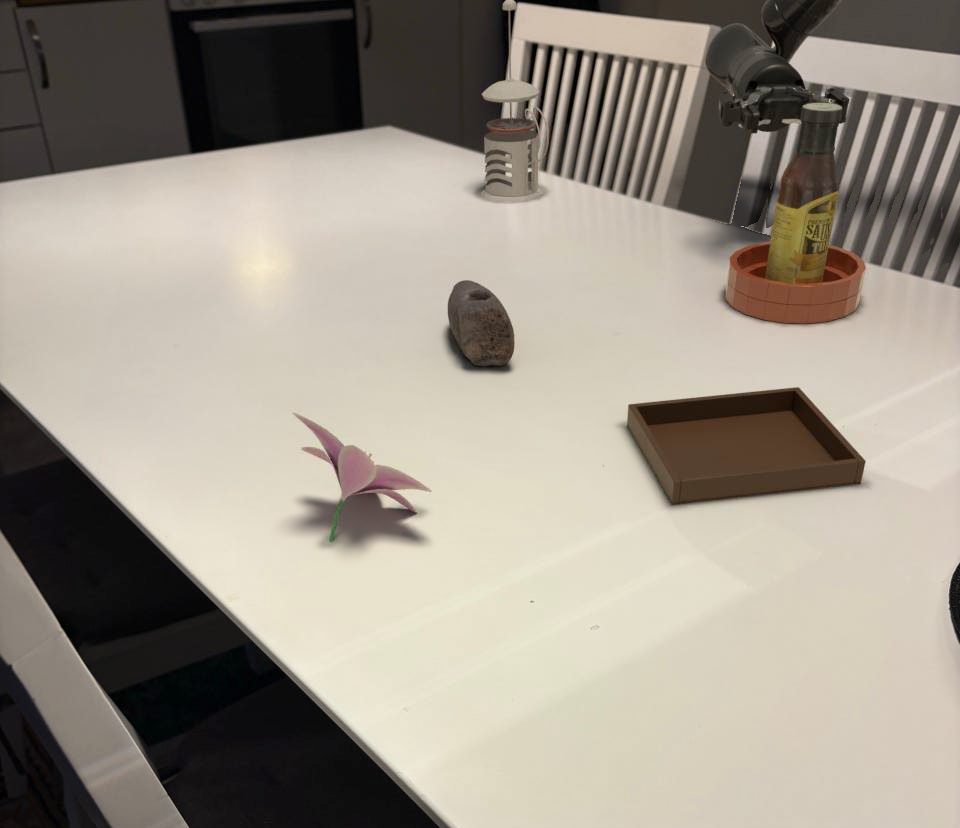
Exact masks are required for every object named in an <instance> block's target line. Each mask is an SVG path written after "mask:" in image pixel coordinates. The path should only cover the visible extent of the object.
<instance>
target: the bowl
mask: <svg viewBox="0 0 960 828" xmlns="http://www.w3.org/2000/svg"><path fill="white" fill-rule="evenodd" d="M770 242H771V241H765V242H759V243H754V244H750V245H749V244H748V245H746V246H744V247H742V248H739V249H738V250H735V251H734V252H733V253H732V254H731V255H730V256H729V259H728V267H727V278H726V285H725V301H726V302H727V303H728V304H729V305H730V307H731V308H732V309H734V310H736V311H738V312H740V313H742V314H744V315H746V316H750V317H753V318H757V319H760V320H764V321H769V322H776V323H782V324H783V323H784V324H817V323H826V322H831V321H834V320H838V319H841V318H845V317H846V316H848V315H850V314H852V313H854V312H855V311H856V309H857V307H859V304H860V301H861V300H860V299H861V295H862V289H863V286H864V279H865V274H866V270H867V266H866V264H865V262H864V259H862V258H861V257H860V256H858V255H857V254H856V253H854V252H852V251H849V250H848V249H845V248H842V247H839V246H835V245H830V244H829V247H828V253H827V258H826V264H825V269H824V274H823V279H822V283H813V284H798V283H785V282H778V281H771V280H768V279H765V275H766V268H767V262H768V255H769V249H770Z"/></svg>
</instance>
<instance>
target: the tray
mask: <svg viewBox="0 0 960 828" xmlns="http://www.w3.org/2000/svg"><path fill="white" fill-rule="evenodd" d="M626 418H627V419H626V427H627V429H628V431H629V432H630V435H631V436H632V437H633V440H634V441H635V443H636V444H637V446H638V448H639V449H640V452H641V453H642V456H643V457H644V458H645V460H646V462H647V464H648V465H649V467H650V469H651V471H652V473H653V475H654V476H655V478H656V479H657V482H658V484H659V485H660V486H661V487H660V488H662V490H663V492H664V493H665V495H666V497H667V499H668V501H669V502H670V504H671V505H672V506H674V505H675V506H676V505H684V504H692V503H702V502H710V501H711V502H712V501H720V500H728V499H729V500H730V499H737V498H739V499H740V498H747V497H756V496H766V495H775V494H783V493H791V492H801V491H802V492H803V491H809V490H818V489H819V490H820V489H827V488H836V487H846V486H856V485H861V484H862V480H863V475H864V470H865V466H866V463H867V461H866V460H865V458H864V457H863V456H862V455H861V454H860V453H859V452H858V451H857V450H856V448H855V447H854V446H853V445H852V444H851V443H850V442H849V440H847V439H846V437H845V436H844V435H843V434H842V433H841V432H840V431H839V429H837V427H836V426H835V425H834V424H833V423H832V422H831V421H830V419H828V417H827V416H825V414H824V413H823V412H822V411H821V410H820V409H819V408H818V407H817V405H815V403H814V402H813V401H812V400H811V399H810V398H809V396H807V395H806V394H805V392H804V391H803V390H802V389H801V388H800V387H799V386H797V387H786V388H776V389H767V390H757V391H747V392H738V393H737V392H736V393H727V394H717V395H716V394H715V395H707V396H706V395H705V396H698V397H687V398H679V399H678V398H677V399H668V400H657V401H647V402H638V403H630V404H628V405H627V417H626Z"/></svg>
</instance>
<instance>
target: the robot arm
mask: <svg viewBox="0 0 960 828" xmlns="http://www.w3.org/2000/svg"><path fill="white" fill-rule="evenodd" d="M842 1H843V0H766V1H765V3H764V4H763V5H762V8H761V11H760V12H761V14H760V15H761V21H762V22H761V23H762V24H763V27H764V29H765V30H766V33H767V34H768V35H769V38H770V39H771V40H772V42H773V44H774V46H773V47H771V46H769V45H768V44H767V43H766V42H765V40H763V39H762V38H760V36H758V34H756V33H755V32H754V31H753V30H751V28H749V27H748V26H747V25H745V24H743V23H739V22H737V23H736V22H735V23H731V24H728V25H726V26H724V27H723V28H721V29H720V30H719V31H718V32H717V33H716V34H715V35H714V37H712V39H711V41H710V42H709V45H708V47H707V49H706V53H705V68H706V72H708V74H709V75H710V76H711V77H712V78H713V79H715V80H716V81H717V82H718V83H719V84H720V85H721V86H723V87H724V88H725V89H726V90H724V91H721V92H719V101H718V110H717V111H718V112H717V116H718V119H719V122H720V125H721V126H722V127H725V128H729V127H732V126H733V123H738V124H737V127H739V128H741V129H743V130H747V132H749V134H758V132H759V131H760V132H765V133H772V132H777V131H780V130H782V129H785V128H786V127H788V126H789V125H791V124H798V125H801V111H802V107H803V105H805V104H810V103H832V104H837V105H840V106H841V107H842V116H841V121H840V123H839V125H840V124H841V125H842V124H844V123H846V122H847V113H848V108H849V104H850V98H849V97H848V96H847V95H845V94H844V93H843V92H841V91H840V90H838V89H836V88H834V87H829V88H826V89H825V90H826V91H825V92H824V95H822V94H821V92H820V91H816V90H811V89H806V84H805V82H804V79H803V77H802V76H801V74H800V73H799V71H798V70H797V69H796V68H795V67H794V66H793V65H792V64H791V63H790V62H791V60H792V59H793V57H794V56H795V54H796V53H797V52H798V50H799V48H800V47H801V46H802V45H803V43H804V42H805V41H806V40H807V38H808V37H810V36H811V34H812V33H813V32H815V30H816V29H818V28H819V26H820V25H821V24H822V23H823V22H824V21H826V19H827V18H828V17H829V16H830V15H831V14H833V12H835V10H836V9H837V8H838V6H840V4H841V3H842ZM839 125H838V127H839Z"/></svg>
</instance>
